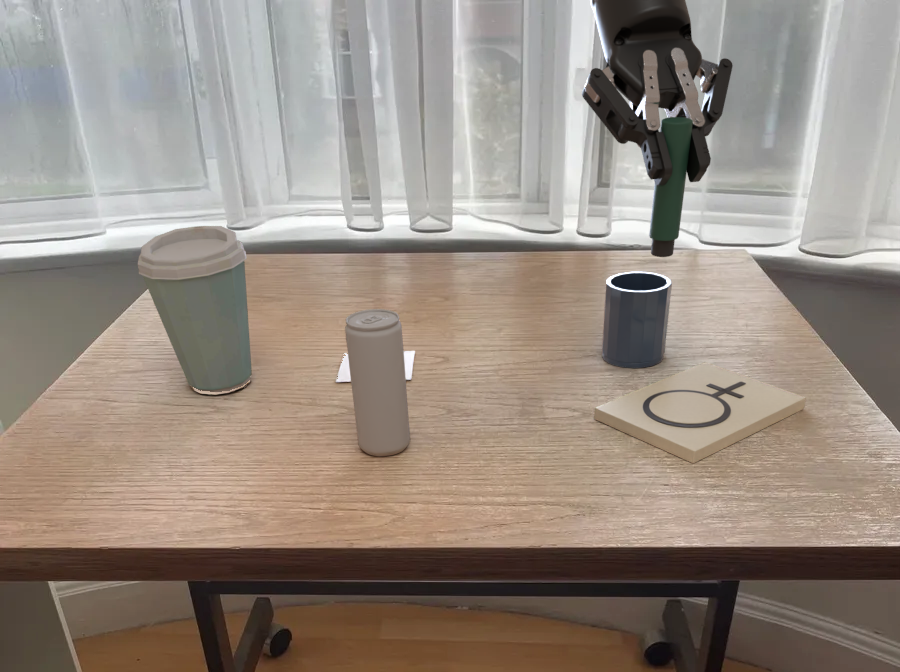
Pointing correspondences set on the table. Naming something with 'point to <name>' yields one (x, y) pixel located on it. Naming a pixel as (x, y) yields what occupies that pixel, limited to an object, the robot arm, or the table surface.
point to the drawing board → (699, 410)
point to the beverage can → (378, 381)
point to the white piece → (345, 370)
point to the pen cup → (635, 319)
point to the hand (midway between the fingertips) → (682, 177)
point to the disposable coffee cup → (202, 302)
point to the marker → (671, 187)
